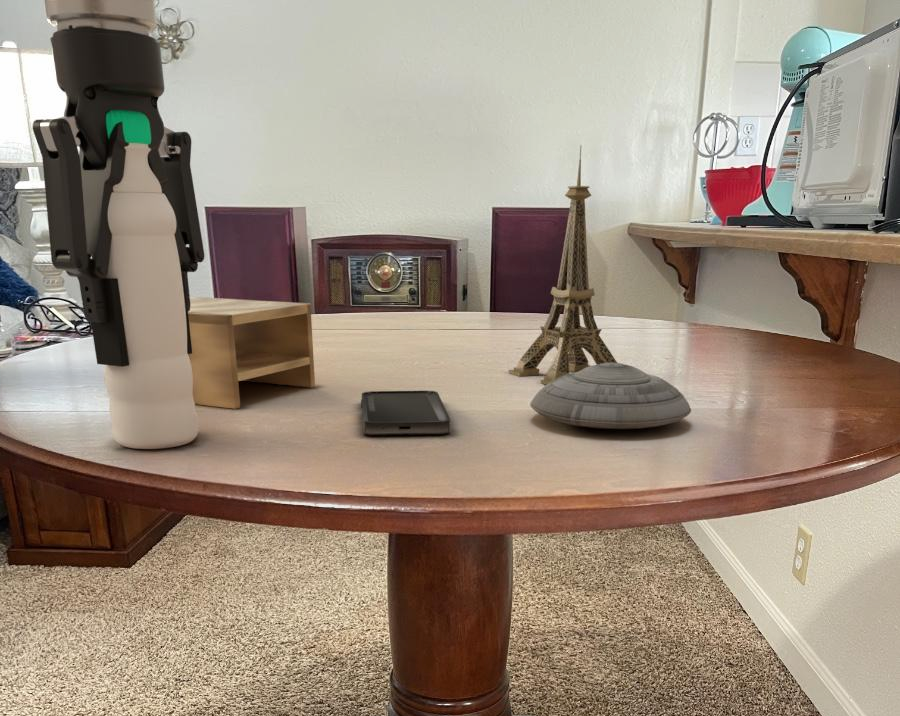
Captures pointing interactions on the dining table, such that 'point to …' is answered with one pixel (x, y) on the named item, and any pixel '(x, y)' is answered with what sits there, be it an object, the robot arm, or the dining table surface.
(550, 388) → the flying saucer
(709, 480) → the dining table surface
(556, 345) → the eiffel tower
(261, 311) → the rack
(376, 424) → the phone
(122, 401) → the water bottle
